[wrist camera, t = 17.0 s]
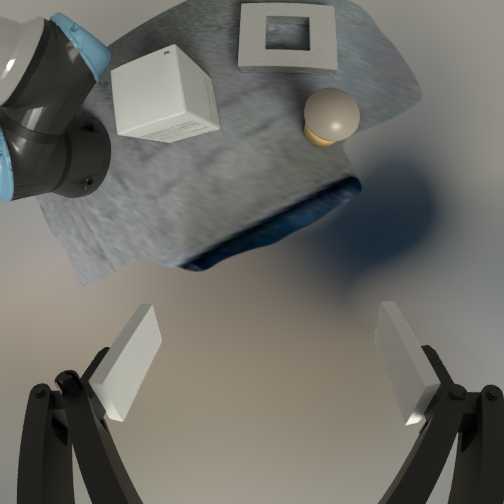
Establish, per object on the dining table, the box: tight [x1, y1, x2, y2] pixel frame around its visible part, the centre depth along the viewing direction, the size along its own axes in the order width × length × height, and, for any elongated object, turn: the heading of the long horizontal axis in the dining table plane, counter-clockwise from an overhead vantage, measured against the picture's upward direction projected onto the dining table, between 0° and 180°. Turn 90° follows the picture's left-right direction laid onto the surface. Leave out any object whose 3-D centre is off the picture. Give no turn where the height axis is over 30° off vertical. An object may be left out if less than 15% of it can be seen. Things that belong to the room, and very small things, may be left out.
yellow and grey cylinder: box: [304, 88, 360, 148], centre depth 33 cm, size 6×6×13 cm
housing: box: [238, 3, 337, 76], centre depth 34 cm, size 14×12×3 cm
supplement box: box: [111, 44, 220, 143], centre depth 33 cm, size 9×9×15 cm
